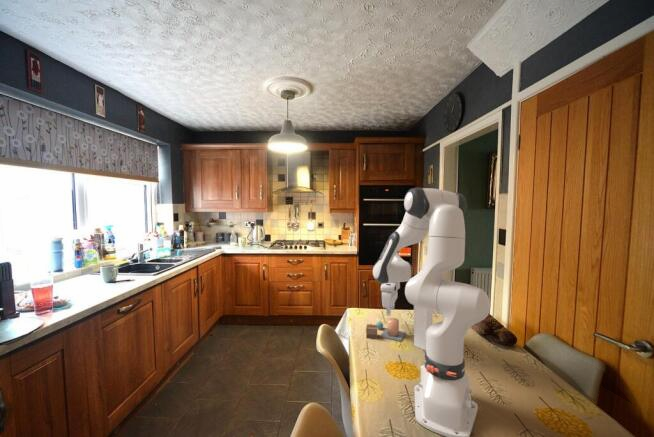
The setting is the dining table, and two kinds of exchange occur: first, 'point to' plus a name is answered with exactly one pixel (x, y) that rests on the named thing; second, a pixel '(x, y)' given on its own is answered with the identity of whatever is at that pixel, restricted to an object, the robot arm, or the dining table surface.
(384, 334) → the coaster
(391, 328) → the pink rounded cylinder
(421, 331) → the milk
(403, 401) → the dining table surface
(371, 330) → the walnut block
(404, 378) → the dining table surface
